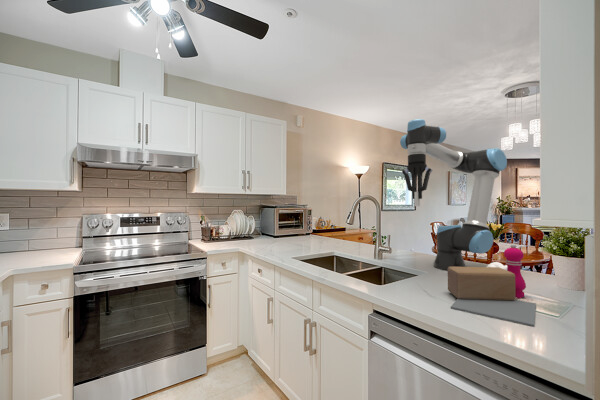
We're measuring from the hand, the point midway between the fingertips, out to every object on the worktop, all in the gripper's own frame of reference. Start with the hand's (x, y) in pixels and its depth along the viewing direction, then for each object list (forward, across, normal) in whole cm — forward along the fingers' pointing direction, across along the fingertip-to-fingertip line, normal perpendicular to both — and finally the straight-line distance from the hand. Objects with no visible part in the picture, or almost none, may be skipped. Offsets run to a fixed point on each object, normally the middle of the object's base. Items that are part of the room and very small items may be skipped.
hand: (417, 206), depth 128 cm
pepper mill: (+35, +34, +4) cm, 49 cm away
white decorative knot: (+35, +29, +19) cm, 49 cm away
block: (+29, +16, -12) cm, 35 cm away
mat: (+34, +30, -14) cm, 48 cm away
